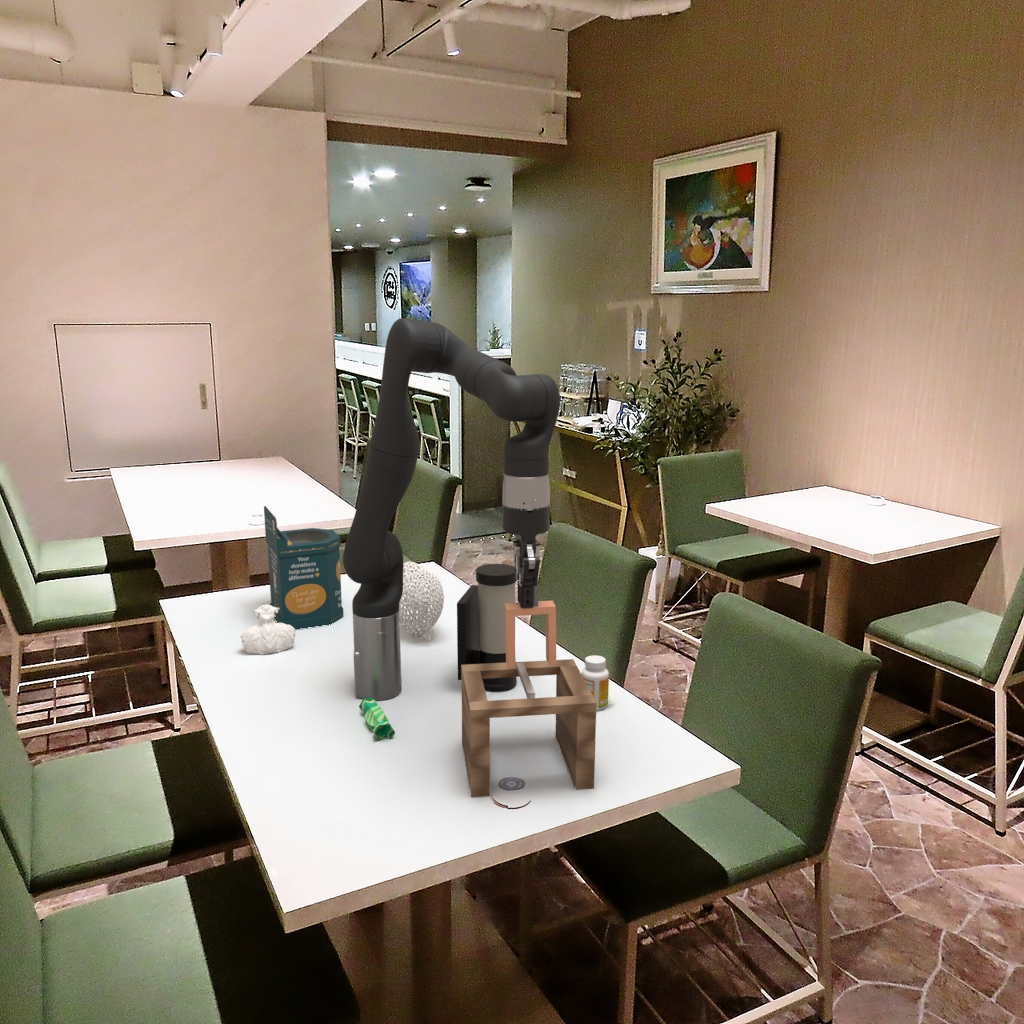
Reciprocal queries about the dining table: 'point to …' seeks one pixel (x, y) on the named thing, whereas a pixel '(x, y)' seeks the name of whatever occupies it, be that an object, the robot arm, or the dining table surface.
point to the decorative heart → (420, 600)
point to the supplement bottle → (597, 679)
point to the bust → (267, 633)
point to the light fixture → (486, 622)
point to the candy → (376, 718)
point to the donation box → (304, 574)
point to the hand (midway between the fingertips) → (525, 604)
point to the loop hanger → (538, 608)
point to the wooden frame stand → (568, 705)
